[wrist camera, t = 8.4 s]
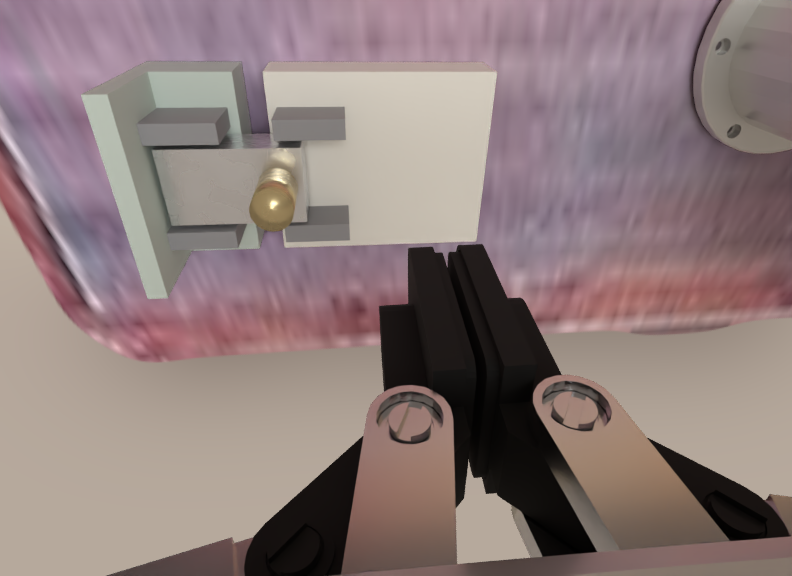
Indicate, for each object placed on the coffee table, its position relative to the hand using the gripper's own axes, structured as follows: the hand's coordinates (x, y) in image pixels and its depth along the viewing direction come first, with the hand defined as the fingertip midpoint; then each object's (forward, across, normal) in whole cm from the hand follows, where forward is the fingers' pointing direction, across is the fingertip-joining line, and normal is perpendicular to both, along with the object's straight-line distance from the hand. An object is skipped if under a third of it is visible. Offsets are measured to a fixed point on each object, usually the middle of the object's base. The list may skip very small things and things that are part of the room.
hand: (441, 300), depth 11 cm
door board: (+20, +1, +3) cm, 21 cm away
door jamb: (+20, +11, +3) cm, 23 cm away
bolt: (+17, +8, +3) cm, 19 cm away
